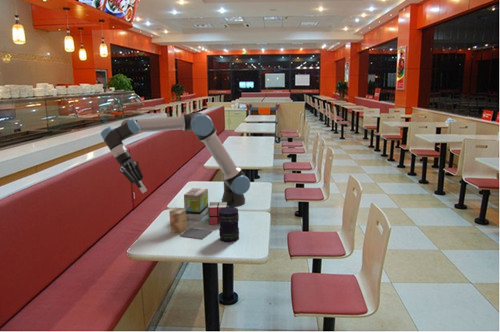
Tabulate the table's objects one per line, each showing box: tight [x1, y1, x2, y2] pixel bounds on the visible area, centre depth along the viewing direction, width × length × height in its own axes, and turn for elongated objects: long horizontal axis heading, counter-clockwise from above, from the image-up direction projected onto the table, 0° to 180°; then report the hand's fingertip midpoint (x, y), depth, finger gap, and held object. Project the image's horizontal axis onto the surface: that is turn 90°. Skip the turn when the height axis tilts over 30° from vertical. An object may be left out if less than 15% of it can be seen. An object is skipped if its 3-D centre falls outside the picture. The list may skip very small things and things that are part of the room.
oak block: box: [168, 207, 188, 235], centre depth 207 cm, size 6×6×12 cm
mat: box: [179, 227, 213, 240], centre depth 204 cm, size 13×11×1 cm
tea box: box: [183, 187, 209, 221], centre depth 230 cm, size 15×10×15 cm
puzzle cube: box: [208, 201, 229, 226], centre depth 220 cm, size 10×10×10 cm
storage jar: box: [218, 206, 240, 244], centre depth 196 cm, size 10×10×15 cm
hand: (144, 191), depth 212 cm, fingers closed
